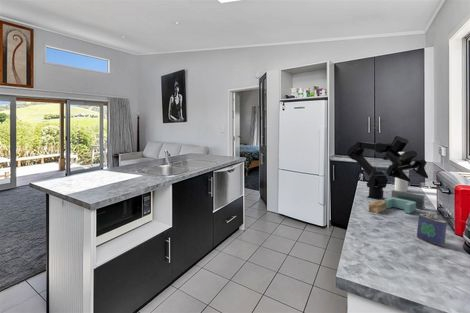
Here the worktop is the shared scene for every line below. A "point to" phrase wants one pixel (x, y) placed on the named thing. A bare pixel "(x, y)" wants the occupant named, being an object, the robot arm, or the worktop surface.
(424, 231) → the flask
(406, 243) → the worktop surface
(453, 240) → the worktop surface
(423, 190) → the worktop surface
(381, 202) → the oak peg
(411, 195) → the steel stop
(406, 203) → the slot block
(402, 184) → the cylindrical container
